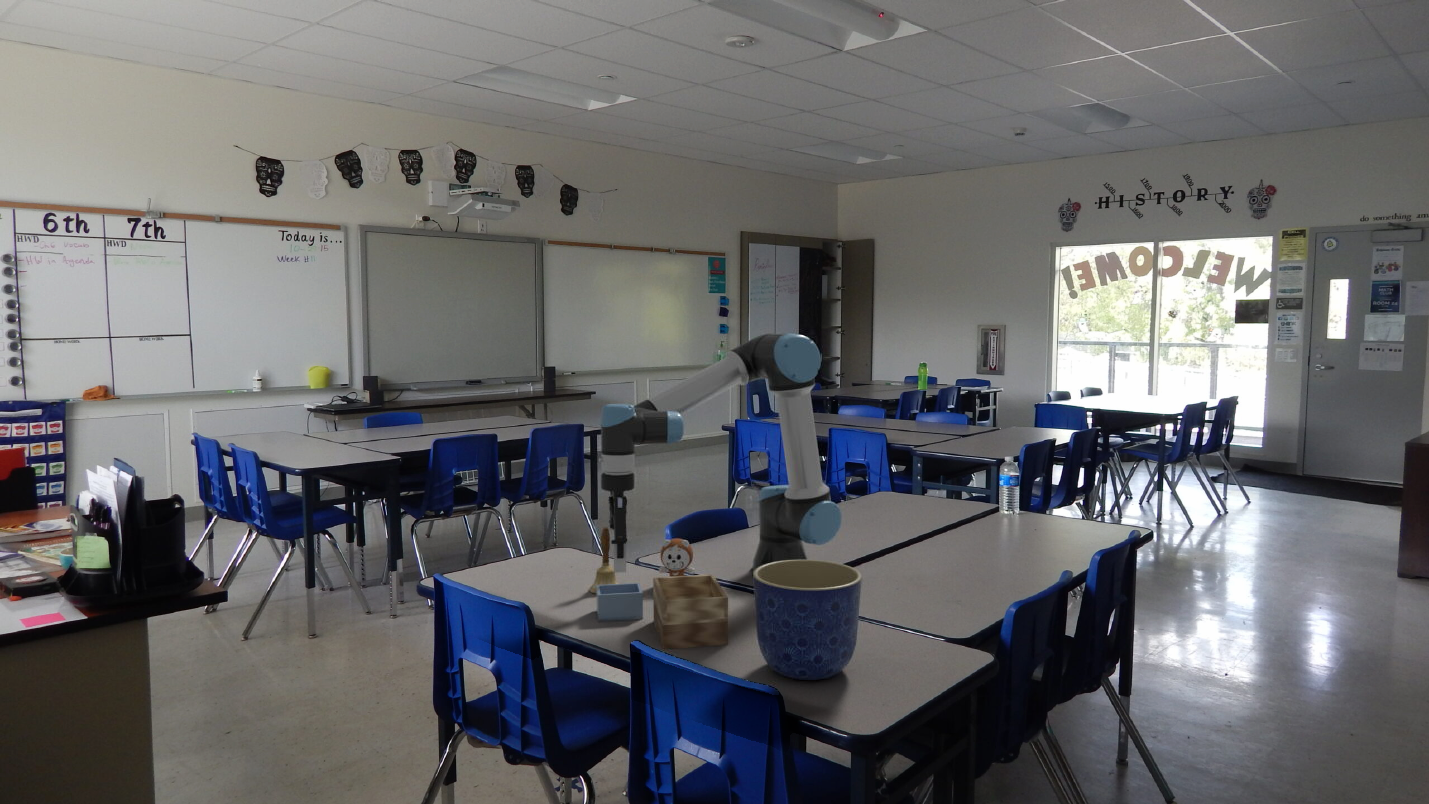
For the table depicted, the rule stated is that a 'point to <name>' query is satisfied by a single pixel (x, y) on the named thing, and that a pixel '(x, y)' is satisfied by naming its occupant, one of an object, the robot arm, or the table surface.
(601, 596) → the blue crate
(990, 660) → the table surface
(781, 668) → the planter
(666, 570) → the figurine
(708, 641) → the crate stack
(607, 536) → the hand bell
